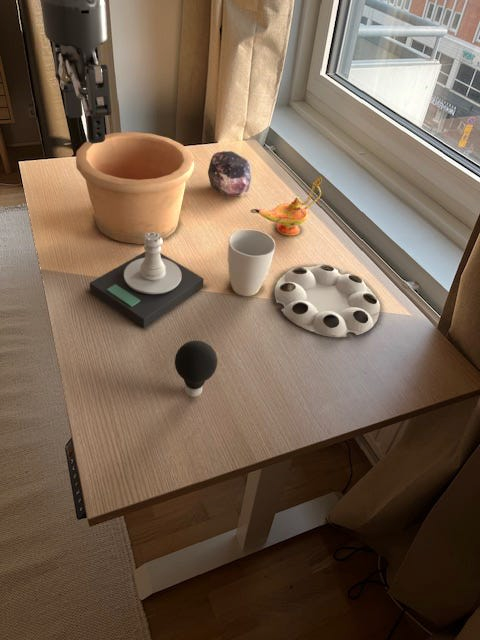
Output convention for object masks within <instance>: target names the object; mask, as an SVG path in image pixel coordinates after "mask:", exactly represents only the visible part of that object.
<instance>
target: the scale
mask: <svg viewBox="0 0 480 640" xmlns="http://www.w3.org/2000/svg"><path fill="white" fill-rule="evenodd" d="M145 255H146V251H145V250H144V251H143V252H142V253H140V254H137V255H136V256H135V257H133V258H131V259H130V260H127V261H126V262H124V263H122V264H120V265H119V266H117V267H115V268H113V269H112V270H110V271H107V272H106V273H105V274H103V275H101V276H99V277H97V278H96V279H94V280H92V281H90V282H89V290H90V293H91V294H93V295H95V297H98V298H99V299H101V300H102V301H103V302H105V303H106V304H107V305H109V306H111V307H112V308H114V309H115V310H116V311H118V312H119V313H121V314H122V315H124V316H125V317H127V318H128V319H130V320H131V321H133V322H134V323H135V324H138V325H139V326H140V327H141V328H146V327H147V326H149V325H151V324H152V323H153V322H155V321H156V320H158V319H160V318H161V317H162V316H163V315H165V314H166V313H168V312H169V311H171V310H172V309H174V307H177V306H178V305H180V304H181V303H182V302H184V301H185V300H186V299H188V298H190V297H191V296H192V295H194V294H195V293H197V292H198V291H200V290H201V289H203V288H204V281H205V278H204V277H202V276H200V275H199V274H197V273H195V272H194V271H192V270H190V269H189V268H187V267H185V266H183V265H181V264H180V263H179V262H177V261H175V260H173V259H172V258H170V257H169V256H167V255H165V254H163V253H161V252H160V256H161V260H162V261H163V263H164V265H165V271H166V274H165V275H164V277H163V278H161V279H160V280H157V281H149V280H146V279H145V278H143V277H142V275H141V274H140V270H141V269H140V268H141V264H142V263H143V261H144V259H145Z"/></svg>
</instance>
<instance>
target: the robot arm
mask: <svg viewBox="0 0 480 640" xmlns="http://www.w3.org/2000/svg"><path fill="white" fill-rule="evenodd" d="M40 5H41V6H40V7H41V15H42V24H43V29H44V36H45V37H46V38H47V40H48V41H49V42H51V44H52V46H51V47H52V55H53V64H54V72H55V73H54V75H55V78H56V80H57V81H59V82H60V83H59V86H60V88H61V90H62V91H63V99H64V109H65V115H66V116H67V118H69V119H78V118H82V117H83V114H85V127H86V136H87V141H89V142H90V143H92V144H94V143H101V142H104V141H105V135H106V132H105V130H106V129H105V116H111V115H112V104H111V102H112V101H111V90H110V77H109V69H108V65H107V64H100V61H99V59H98V58H97V53H96V49H97V47H99V46H102V45H104V44H105V43H106V42H107V40H108V37H109V35H108V18H107V1H106V0H40ZM96 102H97V104H96ZM83 109H84V113H83Z"/></svg>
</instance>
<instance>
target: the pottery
mask: <svg viewBox="0 0 480 640" xmlns="http://www.w3.org/2000/svg"><path fill="white" fill-rule="evenodd" d="M75 153H76V154H75V165H76V166H75V167H76V170H77V171H78V172H79V173H80V175H81V176H82V177H83V178H84V180H85V183H86V184H85V185H86V188H87V192H88V196H89V199H90V204H91V208H92V211H93V214H94V219H95V224H96V227H97V228H98V229H99V231H100V232H101V233H102V234H104V235H106V236H107V237H108V238H111V239H112V240H115V241H118V242H122V243H124V244H135V245H136V244H137V245H138V244H139V245H141V244H142V245H143V244H144V242H143V239H144V238H145V235H147V233H148V232H149V233H150V234H151V232H154V234H156V233H159V236H160V237H161V239H162V240H164V239H166V238H168V237H169V236H171V234H173V233H174V232H175V231H176V230H177V227H178V225H179V219H180V213H181V210H182V209H181V208H182V204H183V199H184V193H185V189H186V183H187V181H188V180H190V178H191V176H192V173H193V172H194V169H195V162H194V157H193V154H192V152H191V151H190V150H189V149H188V148H186V146H184V145H183V144H182V143H180V142H178V141H175V140H174V139H171V138H169V137H167V136H161V135H158V134H154V133H147V132H137V131H124V132H112V133H107V134H105V141H104V142H101V143H94V144H92V143H90V142H89V140H87V141H86V142H84V143H83V144H82V145H81V146H80V147H79V148H78V149H77V150H76V152H75Z"/></svg>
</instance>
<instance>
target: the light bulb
mask: <svg viewBox="0 0 480 640" xmlns="http://www.w3.org/2000/svg"><path fill="white" fill-rule="evenodd" d="M174 367H175V371H176V372H177V374H178V376H179V377H180V378H181V379H183V382H184V384H185V389H184V392H185V393H186V395H188V396H189V397H193V398H195V397H198V396H200V395H201V394H202V392H203V386H204V385H205V383H206V381H207V380H209V379H210V378H211V377H213V376H214V374H215V373H216V370H217V367H218V356H217V353H216V350H215V349H214V348H213V347H212V346H211V345H210V344H209V343H207V342H205V341H202V340H197V339H196V340H195V339H194V340H189V341H187V342H185V343H183V344H182V345H180V347H179V348H178V350H177V351H176V352H175V357H174Z"/></svg>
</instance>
